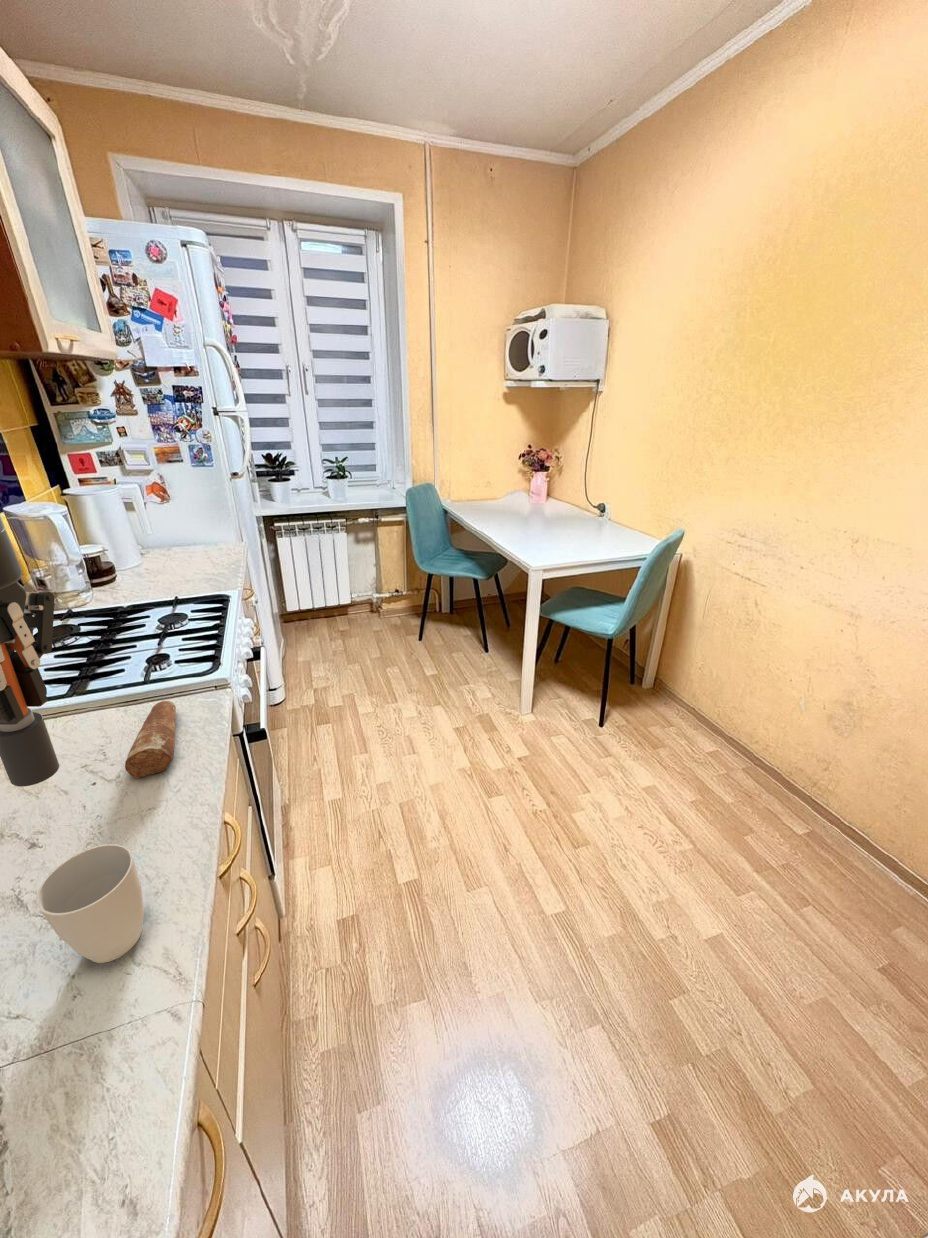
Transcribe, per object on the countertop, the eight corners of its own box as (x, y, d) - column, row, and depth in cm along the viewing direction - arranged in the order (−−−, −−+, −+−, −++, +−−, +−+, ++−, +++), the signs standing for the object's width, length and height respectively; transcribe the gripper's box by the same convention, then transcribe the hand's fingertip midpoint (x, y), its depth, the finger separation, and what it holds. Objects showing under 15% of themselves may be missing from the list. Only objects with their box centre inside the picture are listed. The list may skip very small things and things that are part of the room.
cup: (162, 895, 60) (139, 835, 55) (151, 961, 53) (123, 897, 49) (83, 919, 57) (52, 858, 53) (59, 992, 50) (22, 927, 46)
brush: (-1, 782, 48) (-71, 613, 41) (37, 757, 52) (-22, 596, 44) (33, 790, 48) (-33, 619, 40) (69, 763, 51) (15, 602, 44)
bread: (129, 787, 76) (118, 758, 74) (152, 718, 93) (143, 692, 90) (175, 776, 78) (165, 748, 76) (189, 710, 95) (182, 685, 92)
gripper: (-26, 512, 46) (41, 675, 53) (-215, 558, 33) (-93, 763, 40) (55, 512, 46) (111, 675, 53) (-103, 558, 33) (-1, 764, 40)
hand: (22, 712), depth 47 cm, fingers closed on brush, 2 cm apart
